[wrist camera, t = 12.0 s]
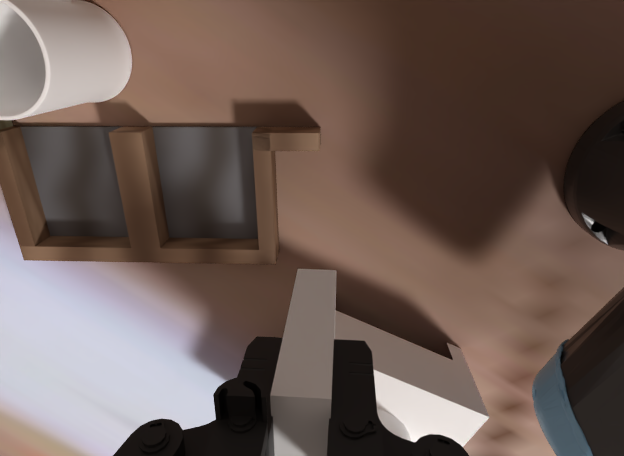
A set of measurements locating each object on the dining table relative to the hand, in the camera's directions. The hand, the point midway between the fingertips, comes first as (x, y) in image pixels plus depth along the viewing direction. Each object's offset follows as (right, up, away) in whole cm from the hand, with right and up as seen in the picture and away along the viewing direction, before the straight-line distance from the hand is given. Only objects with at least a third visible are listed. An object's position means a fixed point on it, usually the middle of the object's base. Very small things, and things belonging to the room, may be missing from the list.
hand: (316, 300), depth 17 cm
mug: (-20, +20, +21) cm, 36 cm away
